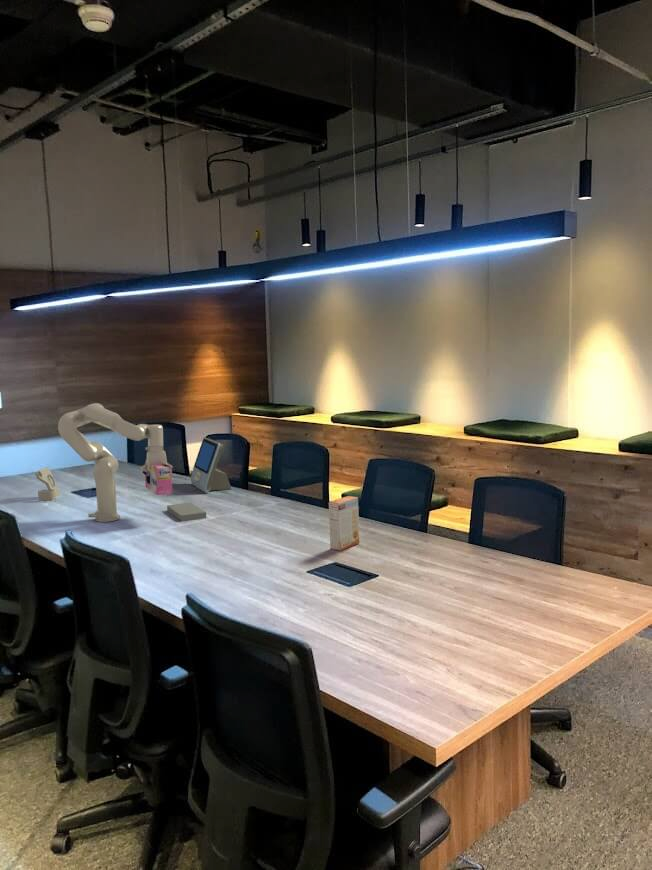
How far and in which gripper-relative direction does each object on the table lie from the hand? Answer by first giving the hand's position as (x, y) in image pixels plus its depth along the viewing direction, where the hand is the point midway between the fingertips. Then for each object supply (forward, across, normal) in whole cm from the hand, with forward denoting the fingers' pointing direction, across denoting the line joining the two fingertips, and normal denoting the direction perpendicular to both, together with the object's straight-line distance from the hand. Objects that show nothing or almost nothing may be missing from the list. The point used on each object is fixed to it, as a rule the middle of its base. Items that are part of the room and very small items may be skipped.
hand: (157, 482), depth 367 cm
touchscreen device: (+18, +48, +60) cm, 79 cm away
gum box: (+4, 0, -3) cm, 5 cm away
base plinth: (+18, +15, 0) cm, 24 cm away
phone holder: (+21, -42, +83) cm, 95 cm away
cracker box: (+17, +57, -96) cm, 113 cm away
